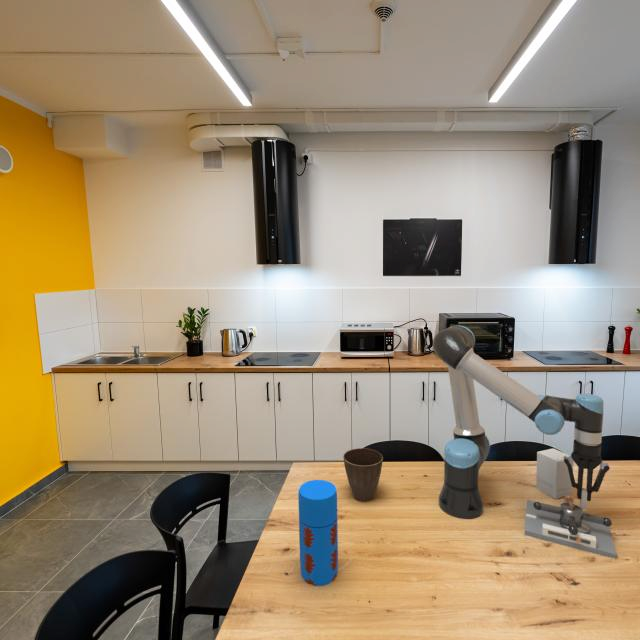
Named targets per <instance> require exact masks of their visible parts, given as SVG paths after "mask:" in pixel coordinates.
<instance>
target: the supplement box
mask: <svg viewBox="0 0 640 640" xmlns="http://www.w3.org/2000/svg"><path fill="white" fill-rule="evenodd" d="M565 456H566V457H569V456H570V455H569V454H567V453H564V452H562V451H559V450H558V449H556V448H549V449H544V450H540V451H537V452H536V473H535V474H536V475H535V476H536V478H535V479H536V480H535V489H537V490H540V492H543V494H546V495H548V496H549V497H551V498H553V499H556V500H557V499H560V498H563V497H564V498H565V496H566V495H570V496H572V495H573V487H572V484H571V480H570V476H569V471H568V467H567V465H566V463H565V462H564V457H565ZM574 463H575V462H574V460H572V463H571V466H572V470H573V471H574ZM571 494H572V495H571Z"/></svg>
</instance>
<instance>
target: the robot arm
mask: <svg viewBox="0 0 640 640" xmlns="http://www.w3.org/2000/svg"><path fill="white" fill-rule="evenodd" d="M475 344H476V338H475V335H474V333H473V331H472V330H471V329H470V328H468V327H466V326H464V325H452V326H449V327H447V328H444V329H441V330H440V331H438V332H437V333H436V334H435V335H434V337H433V341H432V348H433V351H434V353H435V355H436V356H437V357H438V358H439V359H440V360H441V361H442V362H443V364H445V365H446V366H447V370H448V377H449V383H450V384H449V385H450V390H451V391H450V392H451V398H452V404H453V410H454V411H453V412H454V419H455V427H454V428H453V430H452V433H453V434H452V435H453V439H450V440H449V441H447V442H446V444H445V447H444V451H443V457H444V460H443V461H444V464H443V465H444V470H443V471H444V472H443V473H444V474H443V479H444V481H443V484H442V485H443V486H442V487H441V490H440V493H439V495H438V506H439V507H440V509H441V510H442V511H444V512H445V513H446V514H448V515H450V516H453V517H455V518H459V519H474V518H477V517H480V516H481V515H482V514H483V512H484V511H483V509H484V504H483V499H482V496H481V494H480V490H479V471H480V469H481V467H482V466H483V464H484V462H485V461H486V459H487V458H488V456H489V454H490V449H491V444H490V443H491V442H490V440H489V438H488V437H487V435H486V432H485V428H484V427H483V426H481V424H480V418H479V412H478V410H479V409H478V403H477V396H476V389H475V384H474V380H475V382H476V383H478V384H480V385H481V386H482V387H484V388H486V389H487V390H488V391H489V392H491V393H492V394H494V395H495V396H496V397H498V398H500V400H502V401H503V402H505V403H507V404H508V405H510V406H511V407H513V409H516V410H517V411H518V412H519V413H521V414H522V415H524V416H525V417H527V418H528V419H529V420H531V421H532V422H533V423H534V424H535V427H536V429H538V431H539V432H540V433H543V434H545V435H549V436H553V435H557V434H558V433H560V432H561V431H562V429H563V428H564V426H565V422H570V423H571V422H573V423H574V430H573V431H574V433H573V445H572V447H573V449H572V452H571V454H570V455H569V457H566V456H565V457H564V462H565V463H566V465H567V467H568V471H569V476H570V480H571V484H572V489H573V488H575V489H576V498H577V499H578V500H579V507H580V508H581V509H582V511H584V512H586V511H587V506H588V505H587V504H588V502H591V500H592V494H593V492H595V493H598V492H599V491H600V488H601V485H602V483H603V480H604V478H605V475H606V473H607V472H608V471H610V470H611V468H610V465H609V464H608V463H607V462H604V461H603V460H602V456H601V453H602V452H601V451H602V445H601V444H602V437H603V436H602V435H603V434H602V433H603V424H604V423H603V422H604V400H603V399H602V397H600V396H598V395H596V394H592V393H579V394H577V395H576V396H575V398H566V397H565V398H564V397H559V396H553V395H548V394H547V395H545V394H536V393H534V392H532V390H530V389H528V388H527V387H525V386H524V385H522V384H521V383H519V382H518V381H516V380H515V379H513V378H512V377H510V376H509V375H507V374H506V373H504V372H503V371H502V370H500V369H499V368H497V367H496V366H494V365H493V364H491V363H489V362H488V361H487V360H485V359H483V358H482V357H481V356H479V355H478V354H476V353H475V351H474V347H475ZM572 460H574V462H573V463H575V464H576V466H577V468H578V470H577V481H576V480H575V476H574V469H573V470H572V466H571V463H572ZM597 467H599V470H598V473H597V475H596V478H595V480H594V481H593V474H594V469H597ZM585 469H586V470H587V472H586V473H587V474H586V488H584V487H583V484H584V470H585Z"/></svg>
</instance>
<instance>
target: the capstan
mask: <svg viewBox="0 0 640 640" xmlns="http://www.w3.org/2000/svg"><path fill="white" fill-rule="evenodd" d="M564 500H565V502H561V503H560V506H557V505H553V506H551V505H552V504H548V505H547V503H544V502H540V501H535V502H534V504H533V506H534V508H535V509H536V510H543V511H547V512H551V513H555V514H560V525H561V526H562V527H563V528H564V529H568V531H569V532H570V533H571V534H572V535H577V534H578V532H580V533H584V534H588V533H589V532H590V526H589V524H588V523H587V522H585V521H589V522H593V523H598V524H602V525H605V526H607V527H609V528H610V527H611V526H612V525H613V522H612V521H613V520H612V519H610V518H609V517H606V516H601V517H599V516H600V515H597V516H595V514H592V515H591V513H588V514H586V513H587V512H583V510H582V509H581V508H580V505H577V504H575V503H574V501H575V499H574V497H573V495H566V496H564ZM543 503H544V504H543ZM556 506H557V507H556ZM560 507H561V508H560ZM582 512H583V513H582ZM584 520H585V521H584Z"/></svg>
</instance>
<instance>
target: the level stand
mask: <svg viewBox="0 0 640 640" xmlns="http://www.w3.org/2000/svg"><path fill="white" fill-rule="evenodd" d="M534 502H536V501H535V500H530V499H526V503H525V518H524V519H525V520H524V536H528V537H532V538H536V539H538V540H539V539H540V540H541V541H542V540H543V541H546V542H550V543H554V544H558V545H562V546H565V547H568V548H569V547H570V548H573V549H577V550H581V551H584V552H587V551H588V552H587V553H591V552H592V554H595V553H596V555H598V554H600V555H599V556H602V555H603V557H606V556H607V557H606V558H610V557H611V558H610V559H613V558H615V560H617V556H618V555H617V550H616V547H615V544H614V543H615V542H614V540H613V536H612V532H611V530H610V526H609V527H607V526H605V525H602V524H598V523H593V522H589V521H585V520H584V521H585V522H587V523H588V524H589V526H590V532H589V533H588V534H584V533H580V532H578V534H577V535H572V534H571V533H570V532H569V531H568V529H564V528H563V527H562V526H561V525H560V514H555V513H551V512H547V511H543V510H536V509H535V508H534V506H533V504H534ZM542 503H543V504H545V503H544V502H542ZM546 504H547V503H546ZM547 505H549V504H547ZM550 505H551V506H554V505H552V504H550ZM555 506H556V507H558V506H557V505H555ZM559 507H560V508H561V506H559ZM582 513H584V512H583V511H582ZM585 513H586V514H589V513H587V512H585ZM590 514H591V513H590ZM591 515H593V514H591ZM594 515H595V514H594ZM595 516H599V517H602V516H600V515H595Z"/></svg>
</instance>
